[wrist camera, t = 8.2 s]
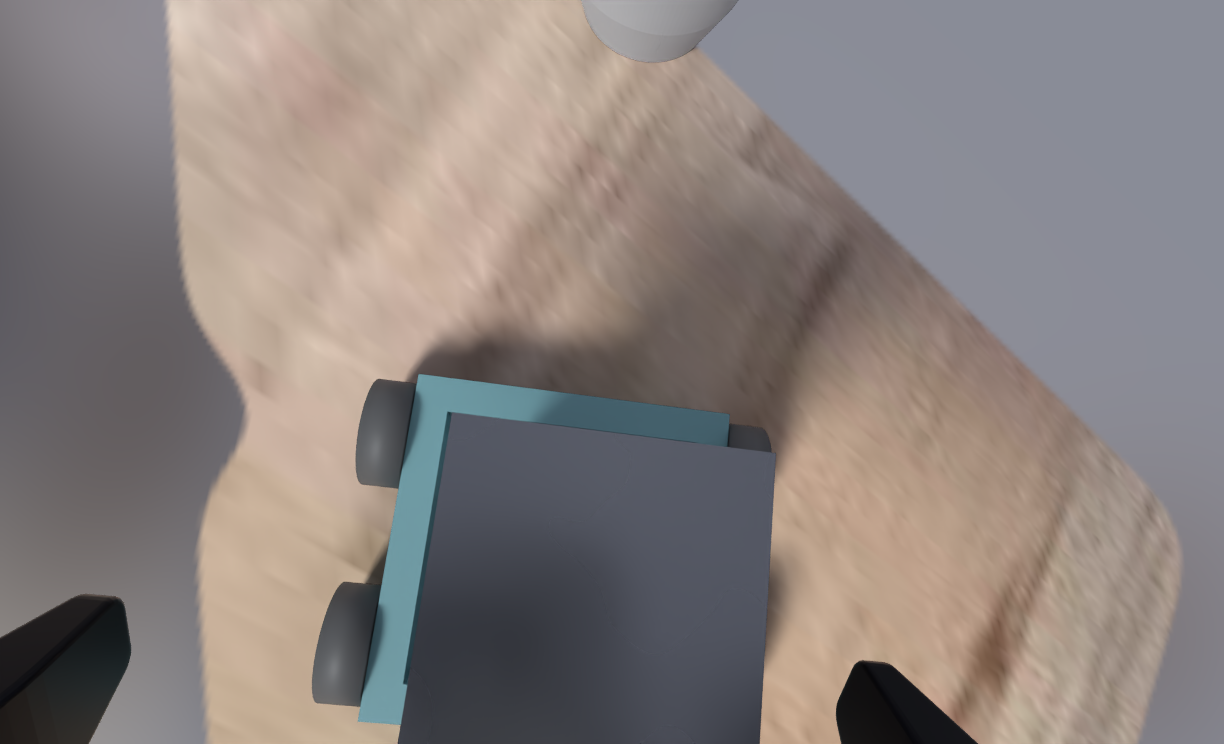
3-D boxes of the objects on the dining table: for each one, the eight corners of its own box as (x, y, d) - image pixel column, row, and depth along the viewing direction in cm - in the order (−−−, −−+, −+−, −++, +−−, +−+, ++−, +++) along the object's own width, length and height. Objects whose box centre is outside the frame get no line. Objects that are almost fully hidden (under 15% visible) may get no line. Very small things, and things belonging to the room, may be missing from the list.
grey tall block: (617, 633, 21) (755, 809, 8) (473, 619, 21) (391, 783, 8) (632, 488, 22) (775, 453, 9) (494, 471, 22) (451, 412, 9)
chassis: (723, 724, 22) (756, 760, 18) (336, 692, 20) (302, 724, 17) (742, 429, 24) (775, 416, 20) (392, 384, 22) (371, 363, 19)
